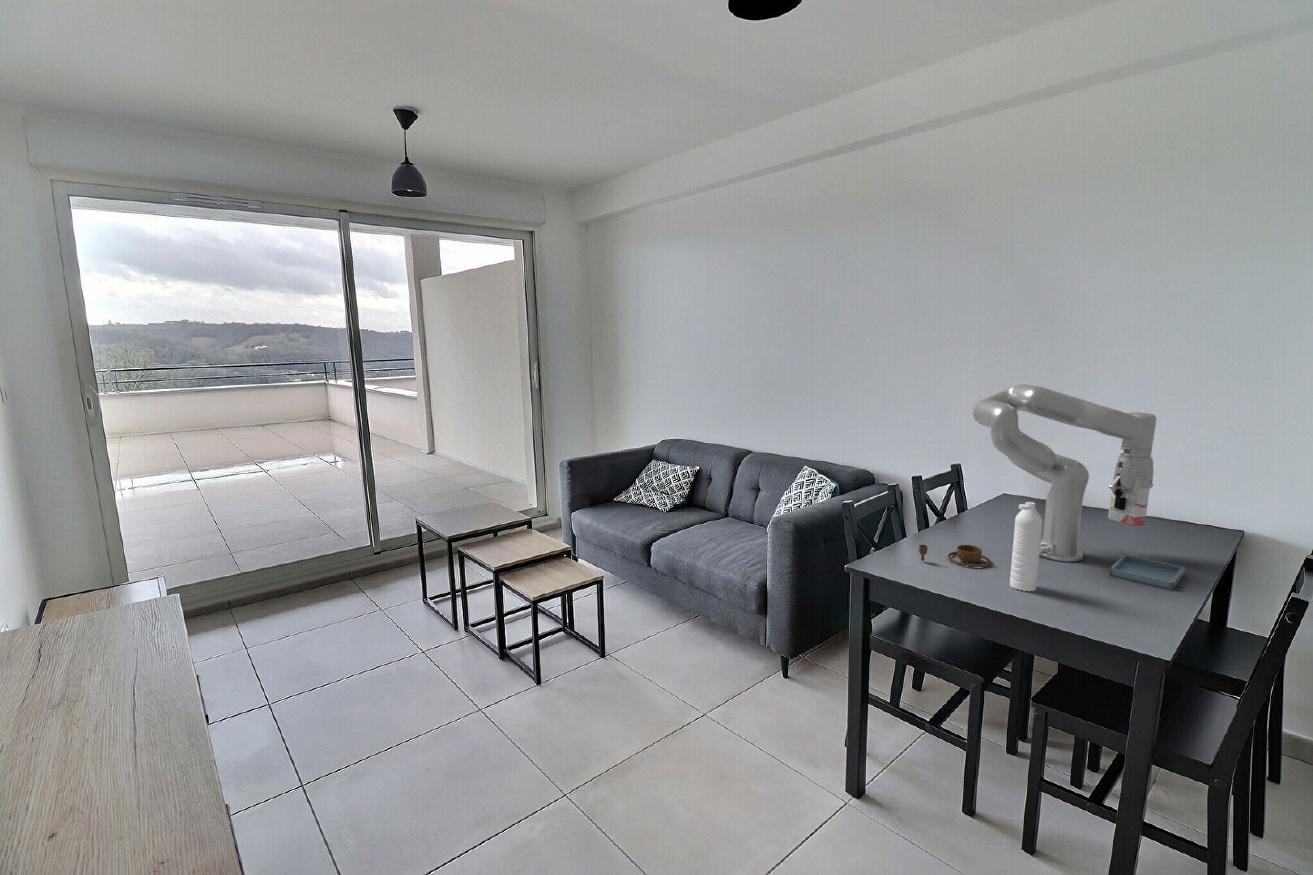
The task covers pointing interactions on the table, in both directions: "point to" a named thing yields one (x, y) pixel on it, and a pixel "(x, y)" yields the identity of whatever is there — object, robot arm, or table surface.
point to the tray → (1147, 572)
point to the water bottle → (1026, 548)
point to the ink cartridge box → (1131, 506)
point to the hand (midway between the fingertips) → (1127, 507)
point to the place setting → (962, 555)
